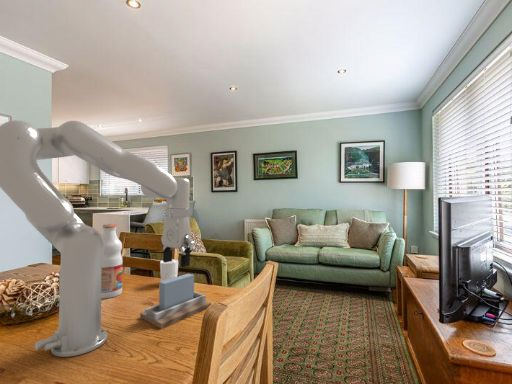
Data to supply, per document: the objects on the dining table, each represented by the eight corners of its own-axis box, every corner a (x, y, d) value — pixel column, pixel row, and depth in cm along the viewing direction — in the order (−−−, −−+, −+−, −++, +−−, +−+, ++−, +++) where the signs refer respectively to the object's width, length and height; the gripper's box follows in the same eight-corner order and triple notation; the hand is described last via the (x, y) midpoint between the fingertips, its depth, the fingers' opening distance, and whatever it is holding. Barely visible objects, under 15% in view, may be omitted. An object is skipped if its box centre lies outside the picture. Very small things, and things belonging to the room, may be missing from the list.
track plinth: (161, 328, 80) (161, 317, 80) (140, 317, 88) (140, 306, 88) (211, 306, 96) (211, 297, 96) (189, 298, 104) (189, 289, 104)
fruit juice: (94, 293, 109) (95, 224, 109) (120, 288, 114) (120, 223, 115) (96, 301, 101) (97, 226, 101) (124, 295, 107) (124, 225, 107)
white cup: (166, 287, 116) (166, 264, 116) (156, 283, 121) (156, 261, 121) (181, 282, 122) (181, 260, 123) (171, 279, 127) (171, 258, 127)
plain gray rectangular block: (164, 314, 86) (164, 283, 86) (159, 312, 88) (159, 281, 88) (193, 303, 96) (194, 275, 96) (188, 301, 98) (188, 273, 98)
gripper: (153, 212, 95) (151, 261, 94) (184, 215, 84) (182, 270, 83) (171, 212, 100) (170, 258, 100) (203, 214, 90) (201, 266, 89)
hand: (176, 263), depth 92 cm, fingers open, 9 cm apart
